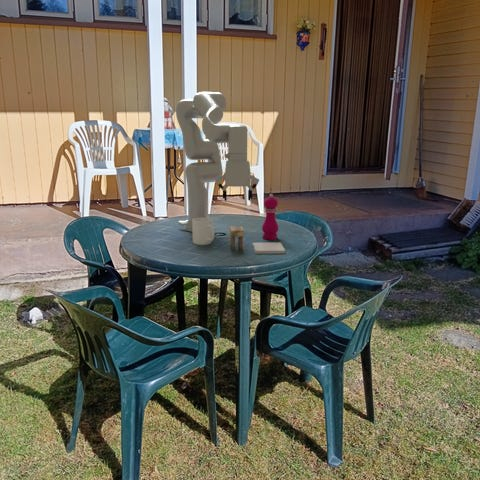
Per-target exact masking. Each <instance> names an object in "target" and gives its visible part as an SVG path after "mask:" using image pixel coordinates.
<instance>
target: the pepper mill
mask: <svg viewBox="0 0 480 480" xmlns="http://www.w3.org/2000/svg"><path fill="white" fill-rule="evenodd" d="M263 205H264V207H265V208H264V209H265V211H264V212H265V220H264V221H263V223H262V226H261V231H262V232H263V234H262V238H263V240H267V239H268V241H271V240H272V241H273V239H274V240H277V239H278V234H277V233H278V231H279V224H278V222H277V220H276V213H277V207H278V205H279V204H278V199H277V198H275V197H274V194H273V193H270V194H269V195H268V197H267V198H266V199H264V201H263Z"/></svg>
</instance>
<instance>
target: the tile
mask: <svg viewBox="0 0 480 480" xmlns="http://www.w3.org/2000/svg"><path fill="white" fill-rule="evenodd" d="M252 248H253V251H254V253H255V255H256V254H258V255H261V254H268V255H270V254H271V255H272V254H286V249H285V248H284V246H283V244H282V242H252Z"/></svg>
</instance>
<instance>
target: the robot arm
mask: <svg viewBox="0 0 480 480" xmlns="http://www.w3.org/2000/svg"><path fill="white" fill-rule="evenodd" d="M226 108H227V98H226V97H225V95H224V94H223V93H222V92H219V91H218V92H217V91H215V92H214V91H213V92H212V91H200V92H197V93H196V94H195V95H194V97H193V98H186V99H181V100H180V101H178V102H177V104H176V107H175V116H176V120H177V123H178V126H179V128H180V131H181V135H182V141H183V146H184V152H185V155H186V158H187V159H188V160H189V161H190V160H191V161H196V162H192V163H189V164H187V166H186V167H185V178H186V185H187V219H185V220H179V221H178V225H179V226H185V227H184V230H185V231H187V232H192V233H193V230H192V219H194V218H209V191H208V189H207V188H206V186H205V185H204V184H206V183H216V184H217V186H218V188H220V189H221V190H222V199H224V201H225V202H226V201H227V192H228V191H227V189H228V187H233V188H234V187H238V188H239V187H242V188H243V187H247V188H248V190H247V200H248V201H250V202H251V199H253V191H254V189H255V188H256V187H258V184H259V182H260V179H259V178H257V177H255V176H254V175H252V174H251V165H250V161H249V160H248V127H247V126H246V125H243V124H242V125H241V124H236V123H220V122H221V121H222V119H223V117H224V111H225V109H226ZM194 119H202V121H201V129H200V127H199V126H198V123H196V121H195V120H194ZM201 130H202V131H201ZM201 133H203V134H204V136H205V137H206V138H203V137H202V134H201ZM219 144H227V150H228V151H227V153H226V154H224V159H227V160H226V163H225V168H224V173H223V165H222V164H223V163H222V158H221V152H220V148H219ZM200 160H201V161H200ZM203 160H204V161H203ZM205 160H207V161H205ZM197 161H198V162H197ZM199 161H200V162H199ZM223 180H224V184H222V183H221V181H223ZM251 180H252V181H254V182H253V184H252V185H251Z"/></svg>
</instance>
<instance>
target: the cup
mask: <svg viewBox="0 0 480 480" xmlns="http://www.w3.org/2000/svg"><path fill="white" fill-rule="evenodd" d="M192 230H193V232H192V243H193V244H194V245H197V246H206V245H211V244H212V242H213V241H214V239H215V235H216V234H215V228H214V225H213V219H212V218H210V217H208V218H194V219H192Z"/></svg>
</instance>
